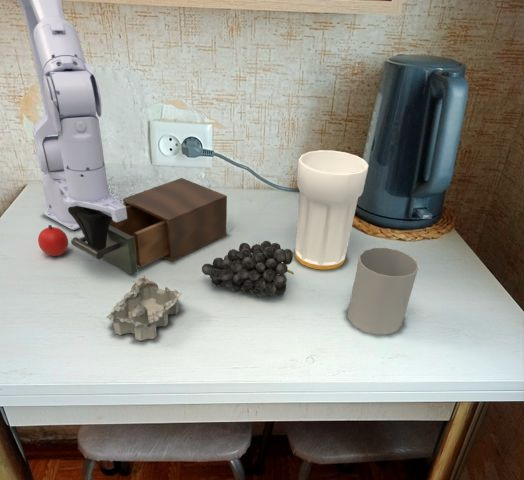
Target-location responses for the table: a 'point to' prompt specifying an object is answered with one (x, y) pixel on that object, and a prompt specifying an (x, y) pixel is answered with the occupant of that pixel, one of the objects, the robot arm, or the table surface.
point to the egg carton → (144, 309)
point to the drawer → (131, 241)
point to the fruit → (252, 269)
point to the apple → (53, 241)
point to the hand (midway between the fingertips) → (98, 248)
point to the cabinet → (185, 214)
